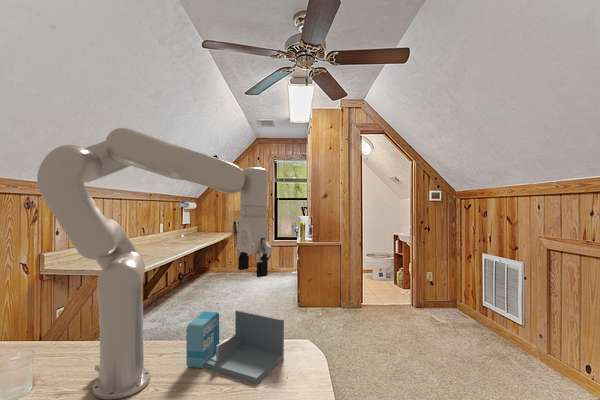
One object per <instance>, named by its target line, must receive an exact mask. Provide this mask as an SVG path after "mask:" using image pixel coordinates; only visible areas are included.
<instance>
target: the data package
mask: <svg viewBox="0 0 600 400" xmlns="http://www.w3.org/2000/svg"><path fill="white" fill-rule="evenodd" d="M185 331H186V339H185V340H186V366H187V367H188V368H199V369H204V368H206V362H207V361H209V360H210V359H211V358H213V357H214V356H216V345H218V344H219V343H220V313H219V312H218V311H217V312H216V311H205V310H204V311H202V312H201V313H200V314H199V315H197V316H196V317H195V318H194V319H192V321H190V322H189V323H188V324H187V326H186V330H185Z"/></svg>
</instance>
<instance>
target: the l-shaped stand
mask: <svg viewBox="0 0 600 400" xmlns="http://www.w3.org/2000/svg"><path fill="white" fill-rule="evenodd" d="M234 315H235V319H234V320H235V321H234V322H235V327H234V328H235V333H237V332H241V337H240V348H238V349H237V350H236V351H234V352H233V353H231V354H230V355H228V356H227V357H226V358H224V359H223V360H221V361H220V362H215V361H212V360H209V361H207V362H206V366H205V369H207V370H211V371H215V372H217V373H220V374H224V375H227V376H230V377H234V378H236V379H239V380H242V381H246V382H249V383H252V384H256V385H257V384H258V383H260V382H261V380H263V379H264V378H265V377H266V376H267V375H268V374H269V373H271V372H272V370H273V369H274V368H276V367H278V365H279V364H281V362H282V361H283V360H285V358H284V357H285V355H284V353H285V349H284V348H285V319H283V318H279V317H273V316H268V315H263V314H259V313H253V312H249V311H244V310H239V309H237V310H235V314H234ZM235 333H234V334H235Z"/></svg>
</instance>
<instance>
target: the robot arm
mask: <svg viewBox="0 0 600 400" xmlns="http://www.w3.org/2000/svg"><path fill="white" fill-rule="evenodd" d="M128 167H133V168H137V169H140V170H145V171H147V172H150V173H154V174H156V175H159V176H163V177H166V178H170V179H174V180H179V181H185V182H189V183H194V184H197V185H199V186H203V187H204V186H205V187H208V188H209V189H213V190H215V191H217V192H219V193H221V194H229V195H230V194H231V195H232V194H235V193H240V199H239V201H240V205H239V212H240V213H239V219H238V222H237V231H236V232H237V233H236V240H235V243H236V249H237V256H238V265H237V266H238V267H237V268H238V271H245V270H249V268H250V255H251V256H252V255H255V256H256V257H255V258H256V259H257V262H256V272H255V273H256V274H255V275H256V277H257V278H262V277H267V276H268V263H269V262H270V258H271V256H272V252H273V247H272V245H271V244H270V243H269V224H268V223H269V222H268V197H269V195H268V194H269V188H268V186H269V173H268V171H267V169H265V168H262V167H245V168H240V167H239V166H238V165H236V164H234V163H231V162H228V161H226V160H223V159H220V158H217V157H214V156H211V155H208V154H205V153H202V152H198V151H195V150H191V149H189V148H187V147H183V146H181V145H177V144H175V143H174V144H173V143H171V142H169V141H166V140H162V139H160V138H157V137H155V136H152V135H149V134H146V133H143V132H140V131H137V130H134V129H131V128H127V127H118V128H115V129H113V130H111V131H110V132H109V133H108V135H107V136H106V137H105V140H104V141H101V142H98V143H95V144H93V145H90V146H89V145H88V146H87V147H82V146H79V145H75V144H64V145H61V146H58V147H55V148H54V149H52V150H50V152H49V153H48V154H46V155H45V157H44V158H43V159H42V162H41V163H40V165H39V167H38V172H37V175H36V177H37V181H36V182H37V187H38V192H39V193H40V196H41V197H42V200H43V202H44V203H45V204H46V206H47V208H48V209H49V210H50V212H51V213H52V215H53V216H54V217H55V219H56V220H57V222H58V224H59V225H60V227H61V229H62V230H63V231H64V233H65V234H66V236H67V237H68V239H69V240H70V242H71V243H72V245H73V247H74V248H75V249H76V250H77V251H76V252H78V254H80V255H81V256H82V257H83V258H85V259H87V260H88V259H89V260H93V261H96V262H97V264H98V265H99V266H100V268H101V269H100V272H99V274H98V277H97V282H96V292H97V299H98V300H97V302H98V320H99V321H98V323H99V364H97V365H95V366H94V371H95V372H97V373H98V378H97V380H95V382H94V383H93V385H92V393H93V395H94V396H95V398H98V399H101V400H116V399H122V398H126V397H129V396H132V395H134V394H137V393H138V392H140V391H142V390H143V389H144V388H145V387H146V386H148V384H149V383H150V381H151V373H150V370H148V369H147V368H144V301H143V299H144V298H143V297H144V295H143V282H144V275H145V270H146V266H145V265H146V264H145V262H144V260H143V258H142V256H141V254H140V252H139V251H138V249H137V248H136V247H135V245H134V244H133V241H132V240H131V239H130V237H129V235H128V234H127V233H126V232H125V230H124V228H123V227H122V226H121V225H120V224H119V223H118V222H117V221H116V220H114V219H112V218H110V217H106V216H105V214H103V212H102V211H101V209H100V208H99V206H98V205H97V203H96V201H95V199H93V197H92V196H91V194H90V193H89V192H88V191H87V189H86V187H85V183H90V182H93V181H96V180H98V179H102V178H105V177H106V176H109V175H112V174H114V173H117V172H119V171H122V170H124V169H127V168H128ZM261 255H262V256H261Z"/></svg>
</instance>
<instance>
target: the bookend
mask: <svg viewBox="0 0 600 400" xmlns="http://www.w3.org/2000/svg"><path fill="white" fill-rule="evenodd" d="M240 337H241V332H237V333H234V334H232V335H231V336H229V337H228V338H226V339H224V340H223V341H221V342H219V344H218V345H216V354H215V355H214V356H213V357H212V358H211V359H210V360H212V361H215V362H220V361H221V360H223V359H224V358H226V357H227V356H228V355H230V354H231V353H233V352H234V351H236V350H237V349H238V348H240Z"/></svg>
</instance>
